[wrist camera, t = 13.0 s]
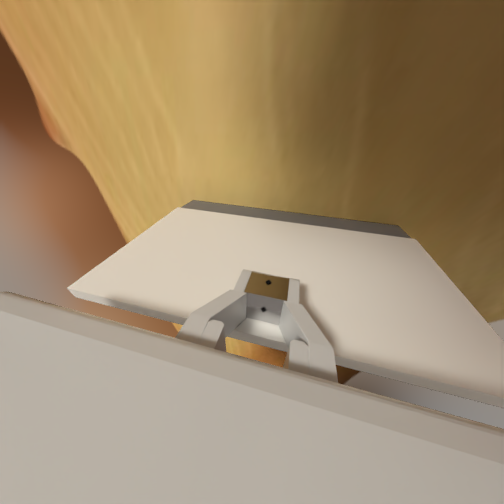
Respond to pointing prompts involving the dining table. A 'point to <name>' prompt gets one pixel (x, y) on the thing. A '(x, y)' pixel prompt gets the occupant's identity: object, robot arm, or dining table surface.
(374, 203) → the dining table surface
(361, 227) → the grey flat frame
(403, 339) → the cover
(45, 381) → the robot arm
